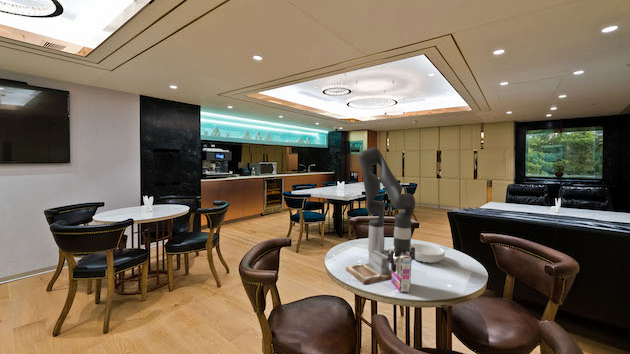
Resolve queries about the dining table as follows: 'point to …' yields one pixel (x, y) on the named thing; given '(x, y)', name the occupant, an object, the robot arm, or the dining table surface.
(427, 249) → the serving bowl
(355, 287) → the dining table surface
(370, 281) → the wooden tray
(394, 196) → the robot arm
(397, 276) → the candy bar box
